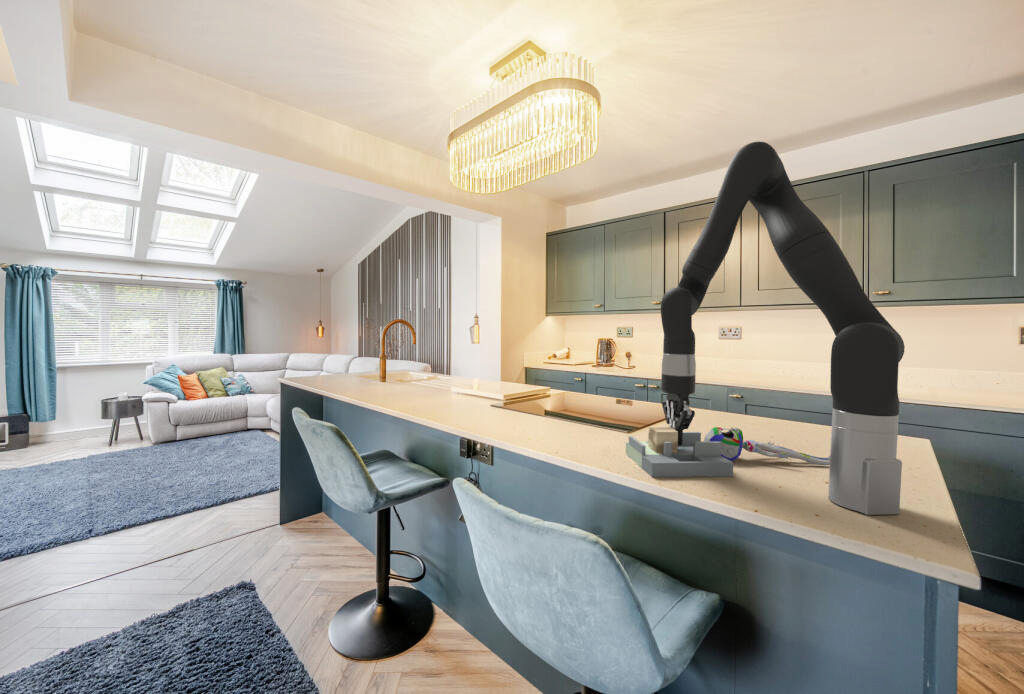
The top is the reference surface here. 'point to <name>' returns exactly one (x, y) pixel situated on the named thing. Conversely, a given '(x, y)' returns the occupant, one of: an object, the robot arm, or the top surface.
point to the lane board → (681, 458)
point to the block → (662, 438)
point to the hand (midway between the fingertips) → (676, 444)
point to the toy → (754, 447)
